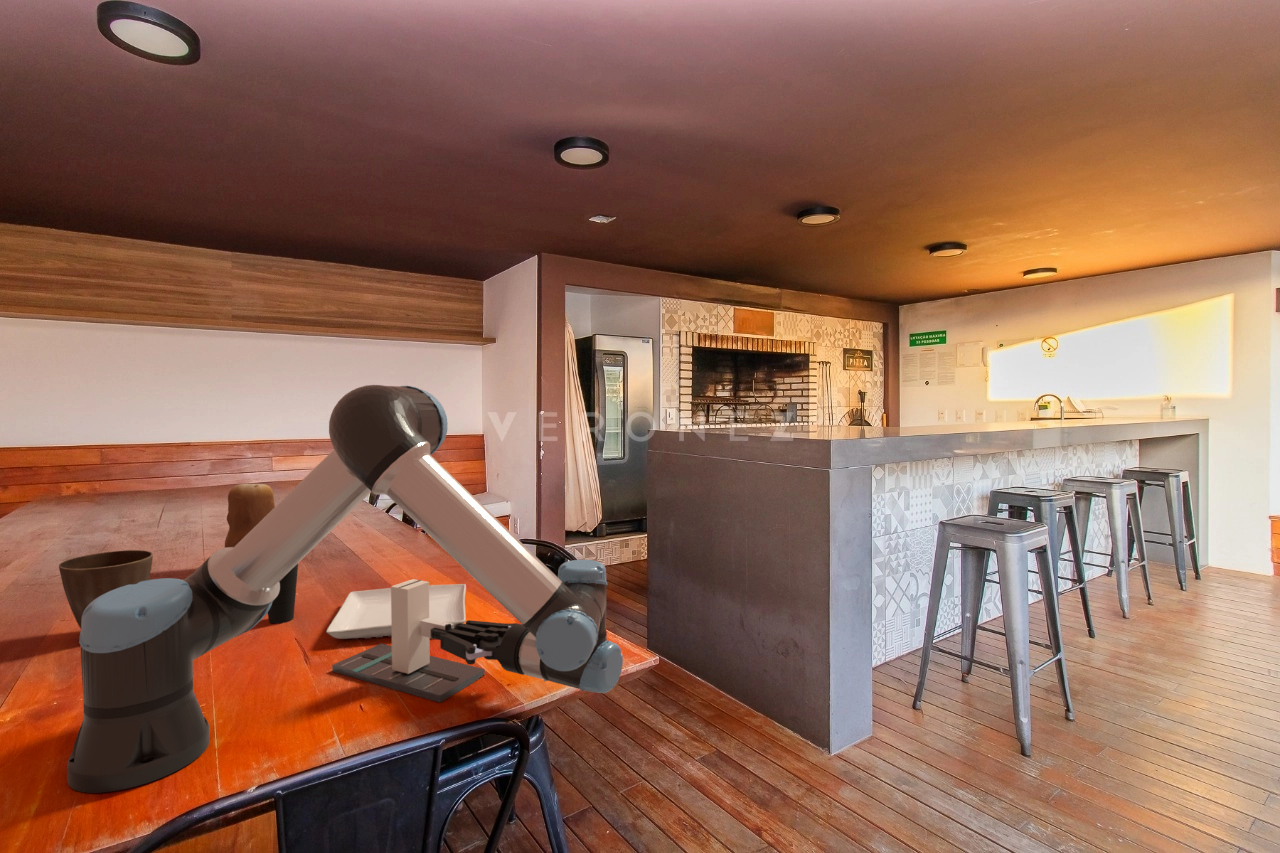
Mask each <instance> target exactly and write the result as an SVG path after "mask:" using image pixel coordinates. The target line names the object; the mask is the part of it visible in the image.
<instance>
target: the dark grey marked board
mask: <svg viewBox="0 0 1280 853" xmlns="http://www.w3.org/2000/svg"><path fill="white" fill-rule="evenodd" d="M331 671H332V672H333V673H336V674H341V675H344V676H346V677H350V678H354V679H358V680H360V681H364V682H368V683H371V684H375V685H377V686H382V687H385V688H388V689H392V690H394V691H395V690H396V691H398V692H403V693H406V694H408V695H412V696H415V697H420V698H422V699H425V700H429V701H432V702H437V703H440V704H441V703H442V702H444V701H445V700H447V699H449V698H450V697H452V696H454V695H455V694H457V693H458V692H460V691H462V690H464V689H465V688H467V687H469V686H470V685H473V684H474V683H475V682H476V680H477V681H478V680H480V679H481V678H480V677H482V676H483V675H485V674H486V671H485V668H482V667H478V666H473V665H471V664H467V663H461V662H458V661H453V660H449V659H446V658H442V657H437V656H435V655H434V656H433V655H430V663H429V664H427V665H425V666H423V667H421V668H419V669H417V670H415V671H413V672H411V673H409V674H407V673H403V672H399V671H396V670H392V645H389V644H385V643H379V644H377V645H374V646H372V647H370V648H368V649H364V651H361V652H359V653H356V654H353V655H352V656H349V657H347V658H345V659H343V660H341V661H338V662H336V663H333V664H332V665H331ZM483 677H484V676H483ZM483 677H482V678H483ZM479 678H480V679H479Z"/></svg>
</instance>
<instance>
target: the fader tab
mask: <svg viewBox="0 0 1280 853" xmlns="http://www.w3.org/2000/svg"><path fill="white" fill-rule="evenodd" d="M429 585H430V582H429V581H425V580H422V579H414V578H412V579H409V580H406V581H403V582H400V583H397V584H394V585H391V586H390V588H391V626H392V636H391V646H392V670H396V671H399V672H403V673H407V674H409V673H411V672H413V671H415V670H417V669H419V668H421V667H423V666H425V665H427V664H429V663H430V656H431V653H430V651H431V650H430V648H431V646H430V644H431V642H430V639H431V638H429V637H424V636H421V632H420V621H421V620H423V619H426V618H429Z"/></svg>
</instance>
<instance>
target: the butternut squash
mask: <svg viewBox="0 0 1280 853" xmlns="http://www.w3.org/2000/svg"><path fill="white" fill-rule="evenodd" d="M227 503H228V504H227V505H228V506H227V507H228V508H227V511H228V512H227V515H226V521H227V524H228V531H227V535H226V537H225V539H224V548H227V547H235V546H236V545H237V544H238V543H239V542H240V541H241V540H242V539H243V538H244V537H245V536H246V535H247V534H248V533H249V532H250V531H251V530H252V529H253V528H254V527H255V526H256V525H257V524H258V523H259V522H260V521H261V520H262V519H263V518H264V517H265V516H266V515H267V514H268V513H269V512H270V511H272V510H273V509H274V508H275V507H276V505H275V498H274V492H273V489H272V487H271V486H269V485H268V484H264V483H241V484H240V483H239V484H237V485H235V486H233V487H232V488H231V489H230V490H229V492H228V495H227Z"/></svg>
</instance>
